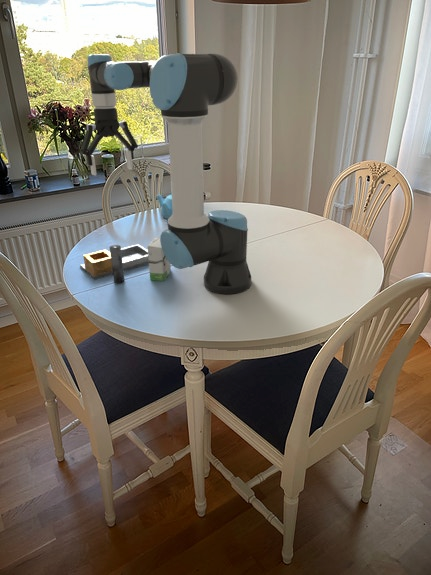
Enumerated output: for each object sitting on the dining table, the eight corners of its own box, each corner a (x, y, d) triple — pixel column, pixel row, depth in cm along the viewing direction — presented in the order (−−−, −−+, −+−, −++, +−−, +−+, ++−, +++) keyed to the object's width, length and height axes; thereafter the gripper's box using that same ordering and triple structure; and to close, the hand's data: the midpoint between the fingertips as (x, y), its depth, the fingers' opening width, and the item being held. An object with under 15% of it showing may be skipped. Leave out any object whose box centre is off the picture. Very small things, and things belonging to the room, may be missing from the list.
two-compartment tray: (156, 261, 156) (155, 248, 154) (94, 279, 144) (92, 265, 142) (140, 251, 165) (138, 238, 163) (80, 267, 153) (78, 253, 151)
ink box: (164, 281, 143) (161, 247, 138) (149, 280, 144) (146, 246, 138) (171, 270, 151) (169, 237, 145) (157, 269, 151) (154, 236, 146)
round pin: (126, 282, 143) (122, 247, 137) (116, 284, 141) (112, 250, 136) (121, 278, 145) (117, 244, 140) (112, 281, 144) (107, 246, 138)
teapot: (161, 223, 192) (159, 199, 187) (157, 212, 205) (155, 189, 199) (196, 220, 194) (195, 196, 189) (190, 209, 207) (189, 187, 202)
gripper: (133, 103, 156) (139, 165, 166) (63, 108, 143) (74, 175, 153) (144, 105, 150) (149, 168, 160) (72, 111, 138) (82, 179, 147)
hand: (112, 172), depth 157 cm, fingers open, 13 cm apart
